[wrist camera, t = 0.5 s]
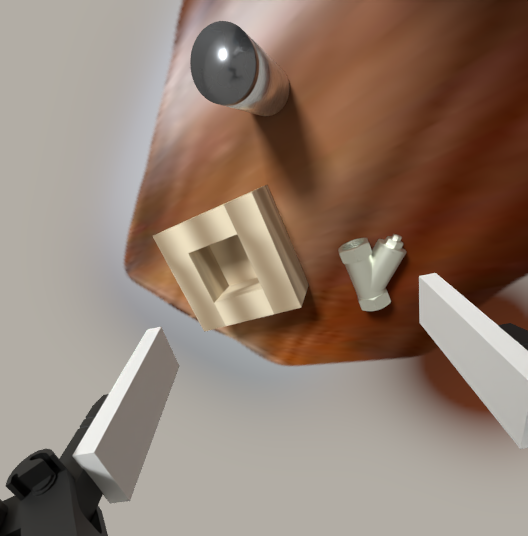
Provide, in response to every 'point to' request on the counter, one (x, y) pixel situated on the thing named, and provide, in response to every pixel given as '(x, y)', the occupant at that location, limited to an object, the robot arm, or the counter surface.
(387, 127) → the counter surface
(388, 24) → the counter surface
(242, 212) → the socket block
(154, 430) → the robot arm
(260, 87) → the capped cylinder
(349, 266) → the pipe fitting
